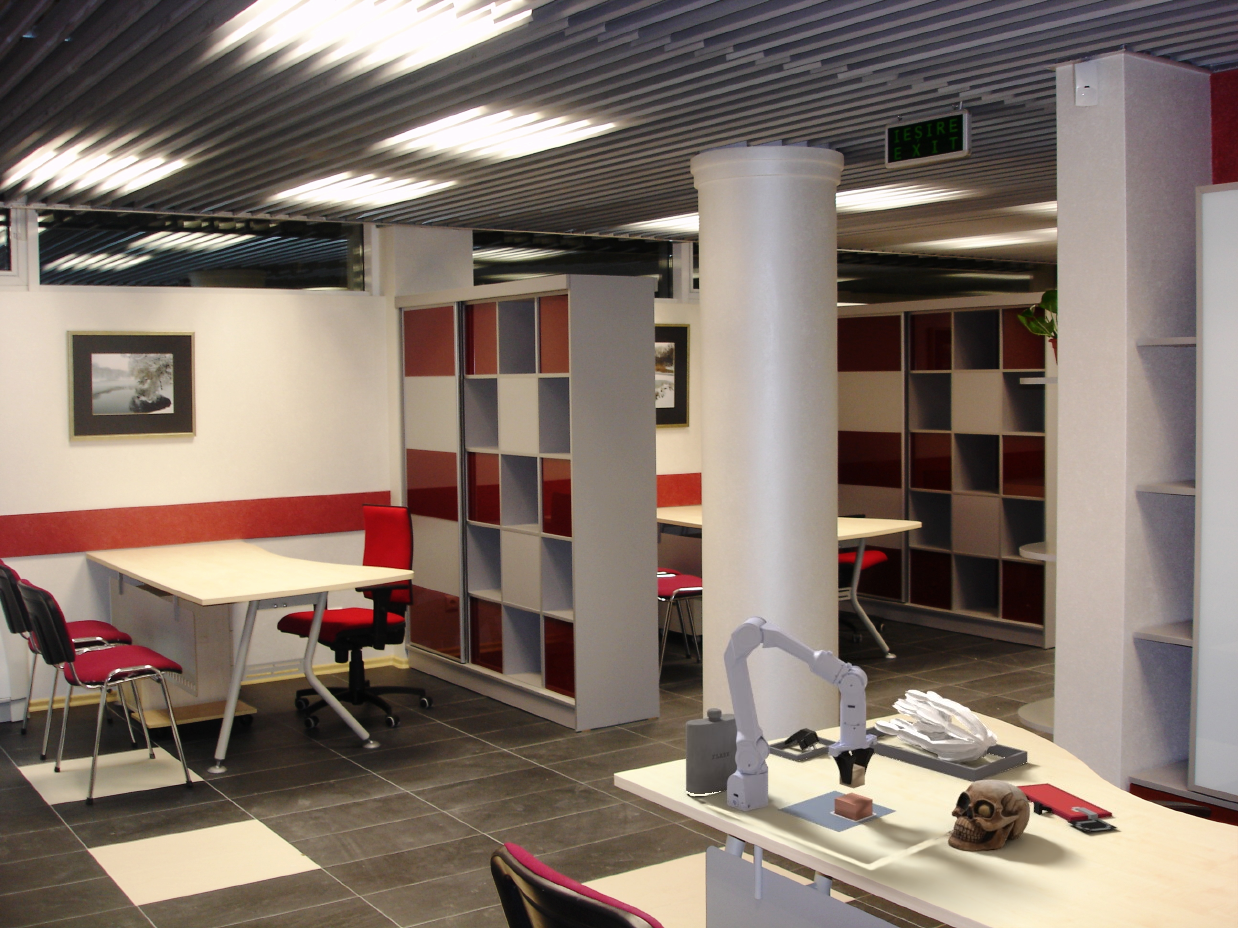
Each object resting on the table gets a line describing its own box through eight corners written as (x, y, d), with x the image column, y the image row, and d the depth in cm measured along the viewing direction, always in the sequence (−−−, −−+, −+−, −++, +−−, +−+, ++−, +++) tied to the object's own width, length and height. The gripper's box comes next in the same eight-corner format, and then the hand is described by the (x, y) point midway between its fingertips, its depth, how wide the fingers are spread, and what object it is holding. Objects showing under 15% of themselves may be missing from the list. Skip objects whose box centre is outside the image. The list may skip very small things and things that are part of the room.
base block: (855, 820, 260) (855, 805, 260) (834, 813, 265) (834, 798, 265) (872, 814, 264) (872, 799, 264) (851, 807, 269) (851, 792, 269)
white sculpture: (1021, 729, 301) (933, 695, 333) (976, 698, 294) (890, 667, 326) (992, 788, 298) (906, 749, 330) (945, 759, 292) (862, 721, 323)
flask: (696, 799, 278) (695, 716, 276) (681, 792, 283) (681, 711, 281) (745, 788, 286) (745, 707, 284) (731, 781, 290) (730, 702, 289)
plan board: (838, 836, 254) (838, 831, 254) (777, 813, 268) (777, 808, 268) (896, 814, 267) (896, 810, 266) (835, 794, 280) (835, 790, 280)
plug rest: (797, 761, 306) (797, 755, 306) (764, 751, 315) (764, 745, 315) (840, 748, 317) (840, 742, 317) (808, 738, 326) (808, 733, 326)
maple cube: (853, 788, 262) (853, 770, 262) (839, 783, 265) (839, 766, 265) (864, 784, 264) (864, 767, 264) (850, 780, 267) (850, 762, 267)
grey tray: (974, 781, 289) (974, 770, 289) (845, 744, 320) (845, 734, 320) (1027, 762, 304) (1027, 751, 304) (899, 729, 335) (899, 718, 335)
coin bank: (945, 846, 247) (949, 783, 247) (956, 827, 263) (960, 768, 263) (1023, 861, 241) (1027, 795, 241) (1029, 840, 257) (1033, 779, 257)
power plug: (784, 742, 323) (815, 723, 316) (797, 767, 320) (829, 748, 313) (772, 745, 318) (804, 726, 312) (785, 771, 315) (817, 752, 309)
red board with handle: (1078, 836, 253) (1135, 830, 258) (1079, 823, 253) (1136, 817, 257) (995, 793, 282) (1047, 788, 286) (995, 782, 282) (1048, 777, 286)
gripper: (846, 731, 256) (846, 792, 257) (887, 719, 265) (887, 778, 266) (821, 725, 261) (821, 784, 262) (862, 713, 271) (862, 771, 271)
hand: (853, 781), depth 264 cm, fingers closed on maple cube, 4 cm apart
